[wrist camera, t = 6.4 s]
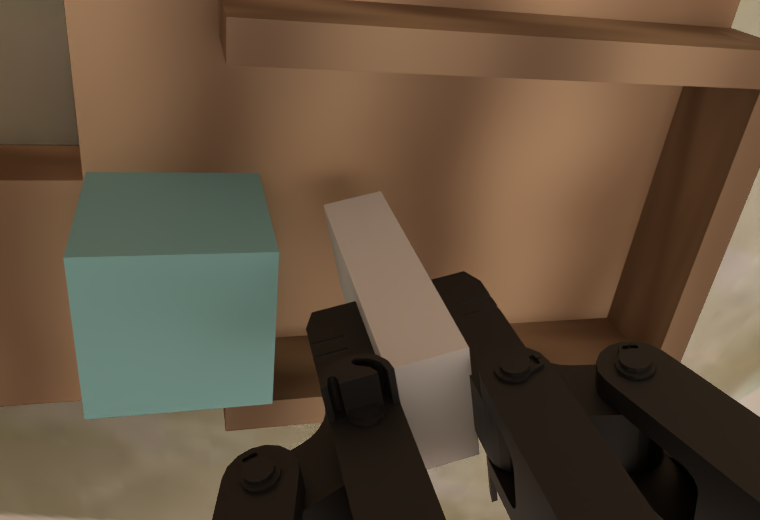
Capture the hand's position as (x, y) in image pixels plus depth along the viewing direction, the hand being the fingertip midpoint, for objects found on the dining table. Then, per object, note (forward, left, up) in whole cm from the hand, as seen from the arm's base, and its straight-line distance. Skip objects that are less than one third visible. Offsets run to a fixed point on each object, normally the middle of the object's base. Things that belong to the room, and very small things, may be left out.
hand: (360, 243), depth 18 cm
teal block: (-5, -1, -3) cm, 6 cm away
